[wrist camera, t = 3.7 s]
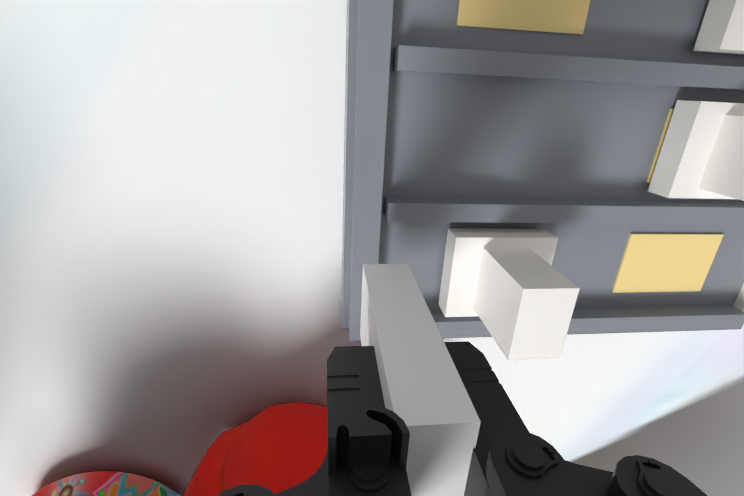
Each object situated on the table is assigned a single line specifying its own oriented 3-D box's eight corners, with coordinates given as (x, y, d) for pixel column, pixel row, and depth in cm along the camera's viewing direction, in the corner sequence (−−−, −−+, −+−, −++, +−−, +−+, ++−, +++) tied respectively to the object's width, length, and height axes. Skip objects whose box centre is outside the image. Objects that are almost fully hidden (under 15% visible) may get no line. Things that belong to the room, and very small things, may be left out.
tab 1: (438, 304, 16) (473, 371, 13) (448, 228, 15) (490, 277, 11) (527, 302, 17) (587, 366, 13) (544, 228, 16) (616, 275, 12)
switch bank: (341, 313, 18) (343, 341, 16) (350, -145, 12) (355, -189, 10) (726, 305, 20) (768, 328, 18) (900, -77, 14) (990, -102, 12)
